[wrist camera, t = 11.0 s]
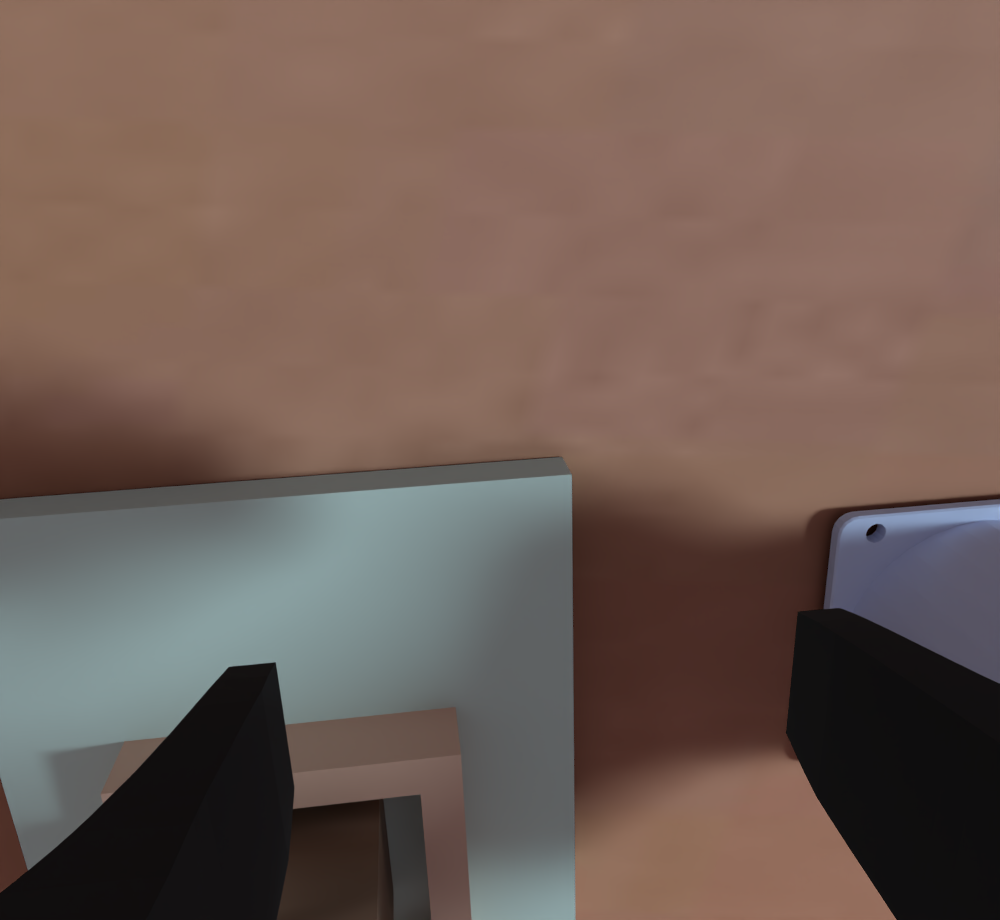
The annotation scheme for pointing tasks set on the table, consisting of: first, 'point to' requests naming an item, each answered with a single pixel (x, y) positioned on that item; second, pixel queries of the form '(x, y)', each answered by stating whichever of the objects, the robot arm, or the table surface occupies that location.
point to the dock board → (315, 658)
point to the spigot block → (338, 864)
